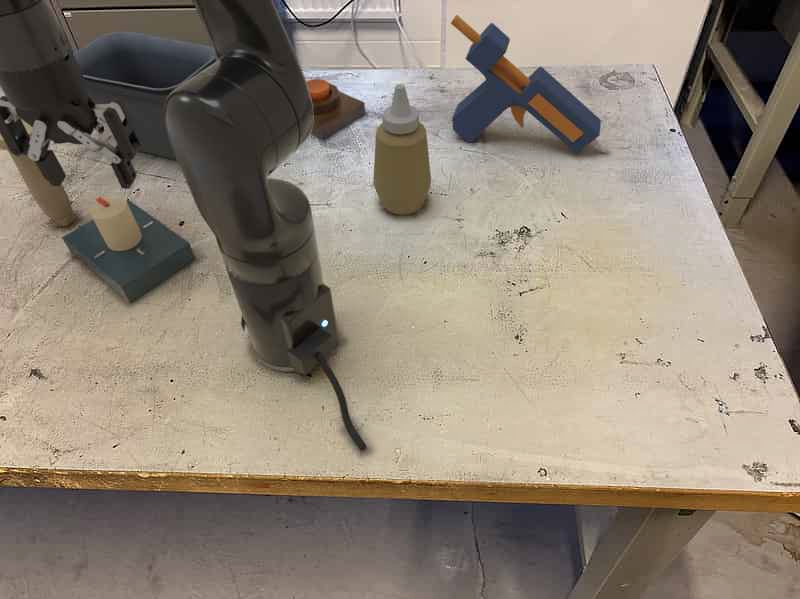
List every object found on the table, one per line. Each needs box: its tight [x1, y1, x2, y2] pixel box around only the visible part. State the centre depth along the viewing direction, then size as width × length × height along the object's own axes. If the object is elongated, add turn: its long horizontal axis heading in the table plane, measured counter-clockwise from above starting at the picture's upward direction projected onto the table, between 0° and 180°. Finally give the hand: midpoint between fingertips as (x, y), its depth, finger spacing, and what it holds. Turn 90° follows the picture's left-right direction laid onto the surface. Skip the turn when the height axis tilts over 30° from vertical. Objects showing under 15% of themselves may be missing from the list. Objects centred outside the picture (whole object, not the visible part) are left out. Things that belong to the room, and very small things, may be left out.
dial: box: [89, 195, 142, 251], centre depth 75 cm, size 4×4×6 cm
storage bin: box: [73, 31, 217, 161], centre depth 92 cm, size 21×16×14 cm
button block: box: [310, 82, 366, 141], centre depth 100 cm, size 12×10×4 cm
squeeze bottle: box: [372, 83, 432, 216], centre depth 79 cm, size 8×8×18 cm
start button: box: [306, 78, 330, 102], centre depth 98 cm, size 4×4×2 cm
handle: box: [0, 119, 77, 228], centre depth 79 cm, size 5×6×15 cm
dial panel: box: [61, 199, 196, 304], centre depth 78 cm, size 14×10×3 cm
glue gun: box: [450, 14, 607, 154], centre depth 92 cm, size 6×31×15 cm
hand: (94, 183), depth 70 cm, fingers open, 8 cm apart
